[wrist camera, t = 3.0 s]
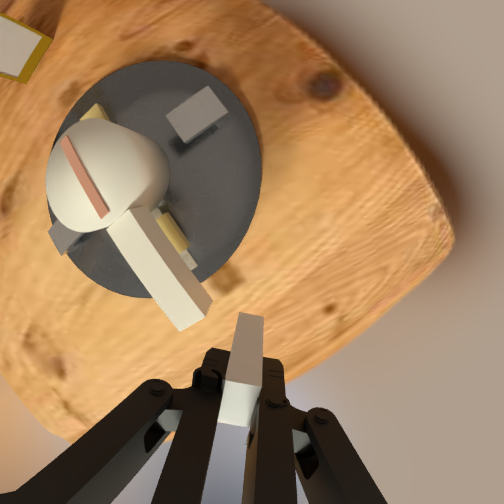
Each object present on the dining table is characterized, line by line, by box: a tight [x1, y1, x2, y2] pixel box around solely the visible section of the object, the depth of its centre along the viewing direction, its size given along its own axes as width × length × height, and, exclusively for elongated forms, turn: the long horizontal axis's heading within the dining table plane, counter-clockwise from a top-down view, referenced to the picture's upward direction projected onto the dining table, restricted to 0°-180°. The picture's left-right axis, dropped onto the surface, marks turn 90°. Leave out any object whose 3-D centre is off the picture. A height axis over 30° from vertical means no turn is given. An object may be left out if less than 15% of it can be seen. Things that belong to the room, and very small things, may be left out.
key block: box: [46, 103, 213, 332], centre depth 19 cm, size 22×8×8 cm, turn 34°
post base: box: [47, 61, 261, 298], centre depth 22 cm, size 24×24×4 cm
